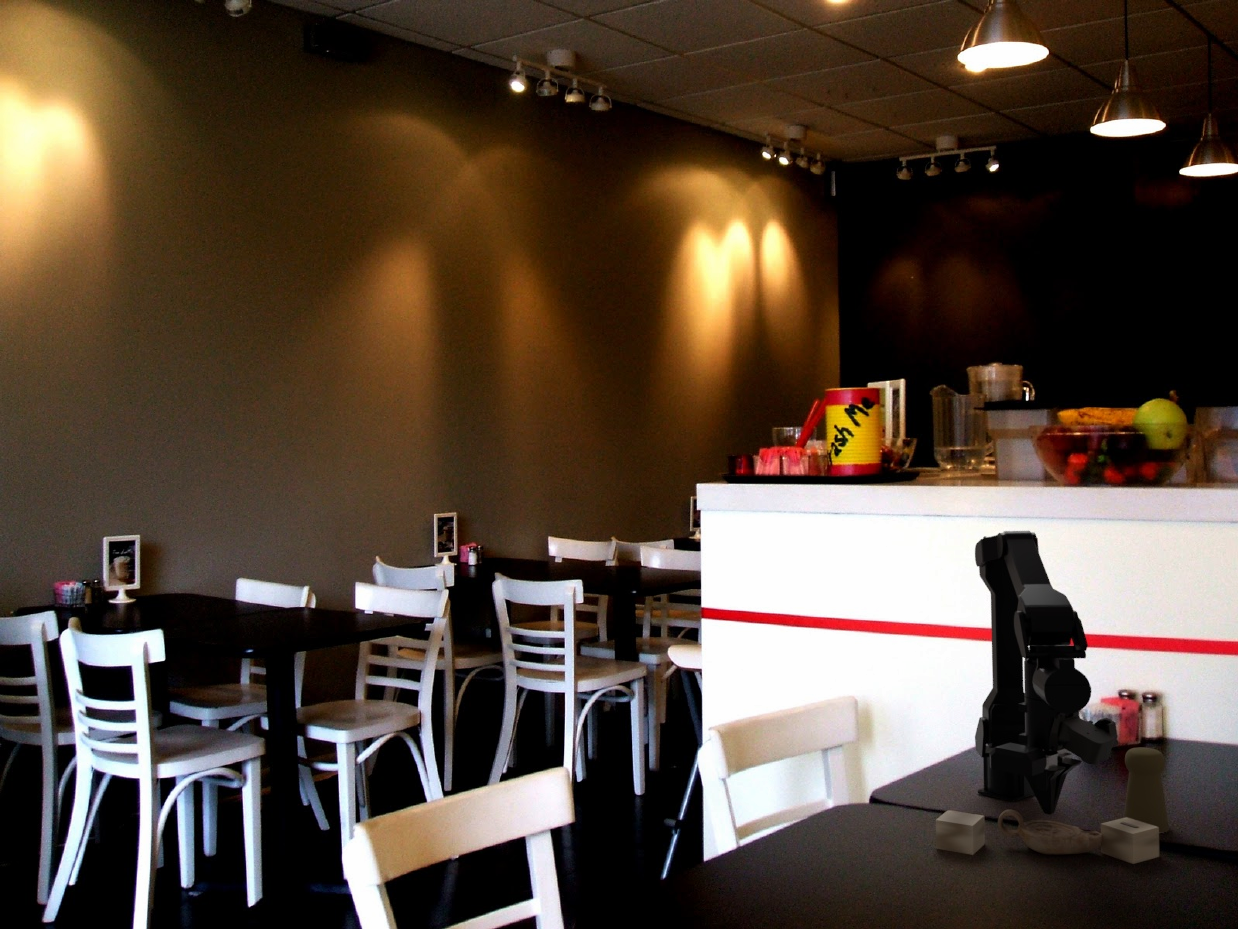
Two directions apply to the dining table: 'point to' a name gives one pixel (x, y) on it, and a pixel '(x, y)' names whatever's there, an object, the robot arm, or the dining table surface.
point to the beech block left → (960, 832)
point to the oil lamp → (1051, 835)
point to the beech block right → (1130, 840)
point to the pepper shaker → (1146, 787)
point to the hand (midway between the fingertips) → (1048, 813)
